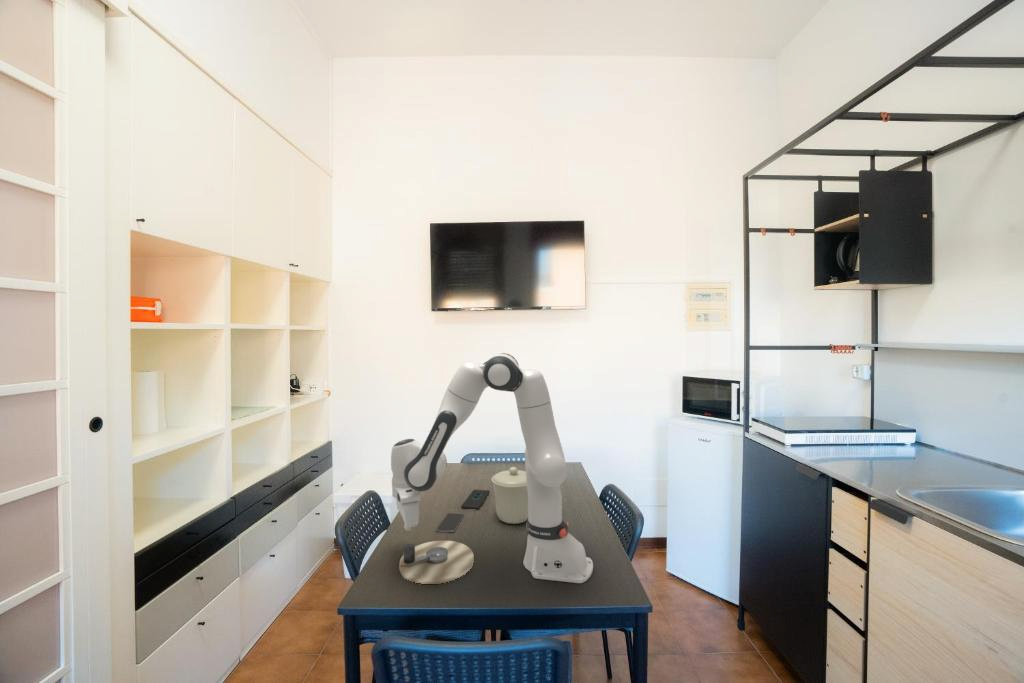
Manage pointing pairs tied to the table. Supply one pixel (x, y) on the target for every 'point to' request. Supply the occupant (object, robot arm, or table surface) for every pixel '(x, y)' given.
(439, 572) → the base
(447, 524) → the smartphone
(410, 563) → the crank handle
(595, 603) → the table surface
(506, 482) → the canister
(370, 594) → the table surface
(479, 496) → the smart home device
